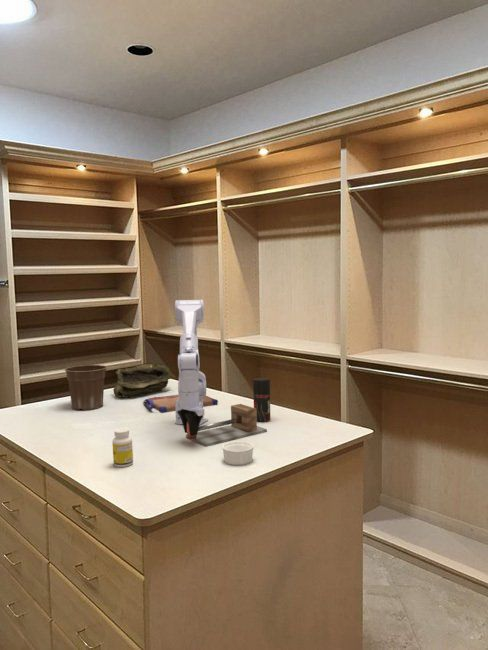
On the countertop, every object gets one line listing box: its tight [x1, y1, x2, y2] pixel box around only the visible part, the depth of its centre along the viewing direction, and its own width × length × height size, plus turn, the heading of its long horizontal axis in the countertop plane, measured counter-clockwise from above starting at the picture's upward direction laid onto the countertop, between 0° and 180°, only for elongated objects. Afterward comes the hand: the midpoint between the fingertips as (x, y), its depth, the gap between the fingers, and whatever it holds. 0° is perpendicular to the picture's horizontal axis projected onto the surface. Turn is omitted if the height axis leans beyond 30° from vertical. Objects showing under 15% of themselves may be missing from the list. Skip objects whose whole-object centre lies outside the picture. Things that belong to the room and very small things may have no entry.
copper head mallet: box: [186, 418, 236, 440], centre depth 173 cm, size 18×3×5 cm, turn 126°
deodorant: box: [252, 377, 272, 423], centre depth 192 cm, size 6×6×15 cm
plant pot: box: [64, 364, 108, 411], centre depth 217 cm, size 16×16×16 cm
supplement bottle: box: [111, 427, 134, 468], centre depth 150 cm, size 5×5×10 cm
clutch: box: [142, 394, 219, 414], centre depth 219 cm, size 28×5×20 cm
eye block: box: [185, 403, 268, 447], centre depth 176 cm, size 24×12×8 cm, turn 126°
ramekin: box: [221, 440, 255, 466], centre depth 152 cm, size 9×9×4 cm
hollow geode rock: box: [113, 362, 173, 398], centre depth 242 cm, size 28×13×15 cm
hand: (191, 433), depth 168 cm, fingers closed on copper head mallet, 3 cm apart
